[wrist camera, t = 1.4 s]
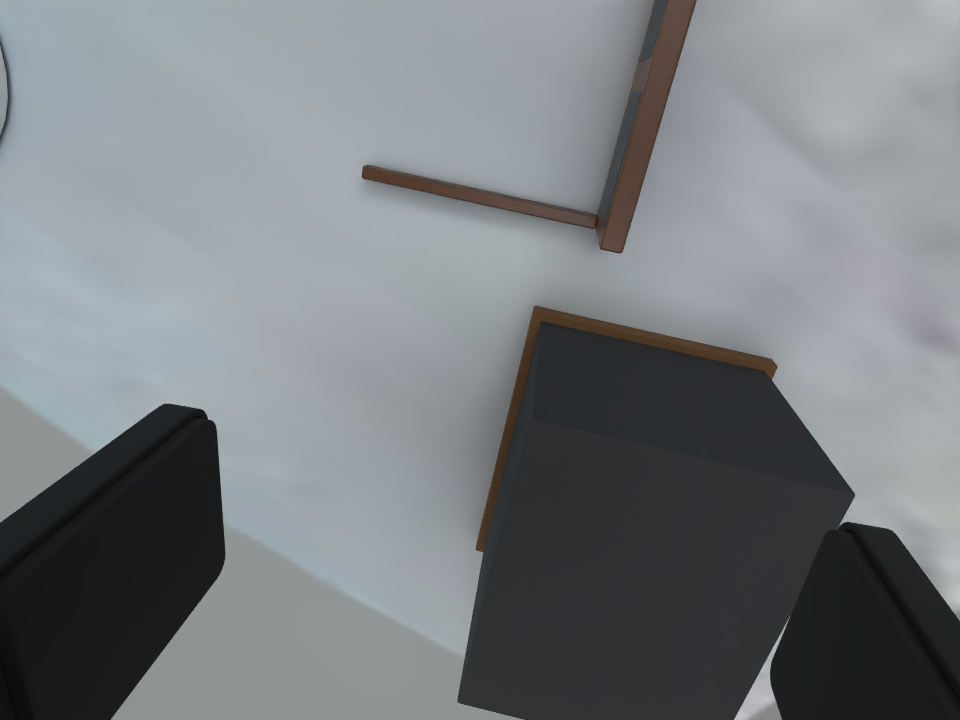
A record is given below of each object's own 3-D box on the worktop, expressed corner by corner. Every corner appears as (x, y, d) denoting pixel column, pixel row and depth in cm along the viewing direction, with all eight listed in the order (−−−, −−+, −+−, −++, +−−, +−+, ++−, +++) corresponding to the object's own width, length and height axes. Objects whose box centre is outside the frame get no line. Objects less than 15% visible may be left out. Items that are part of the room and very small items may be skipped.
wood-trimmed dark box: (477, 540, 40) (445, 706, 29) (534, 305, 34) (520, 406, 23) (688, 590, 40) (736, 779, 29) (789, 362, 33) (900, 494, 22)
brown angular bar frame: (707, -98, 26) (740, -142, 21) (614, 230, 31) (623, 254, 27) (403, -159, 26) (368, -216, 21) (365, 176, 32) (331, 190, 27)
